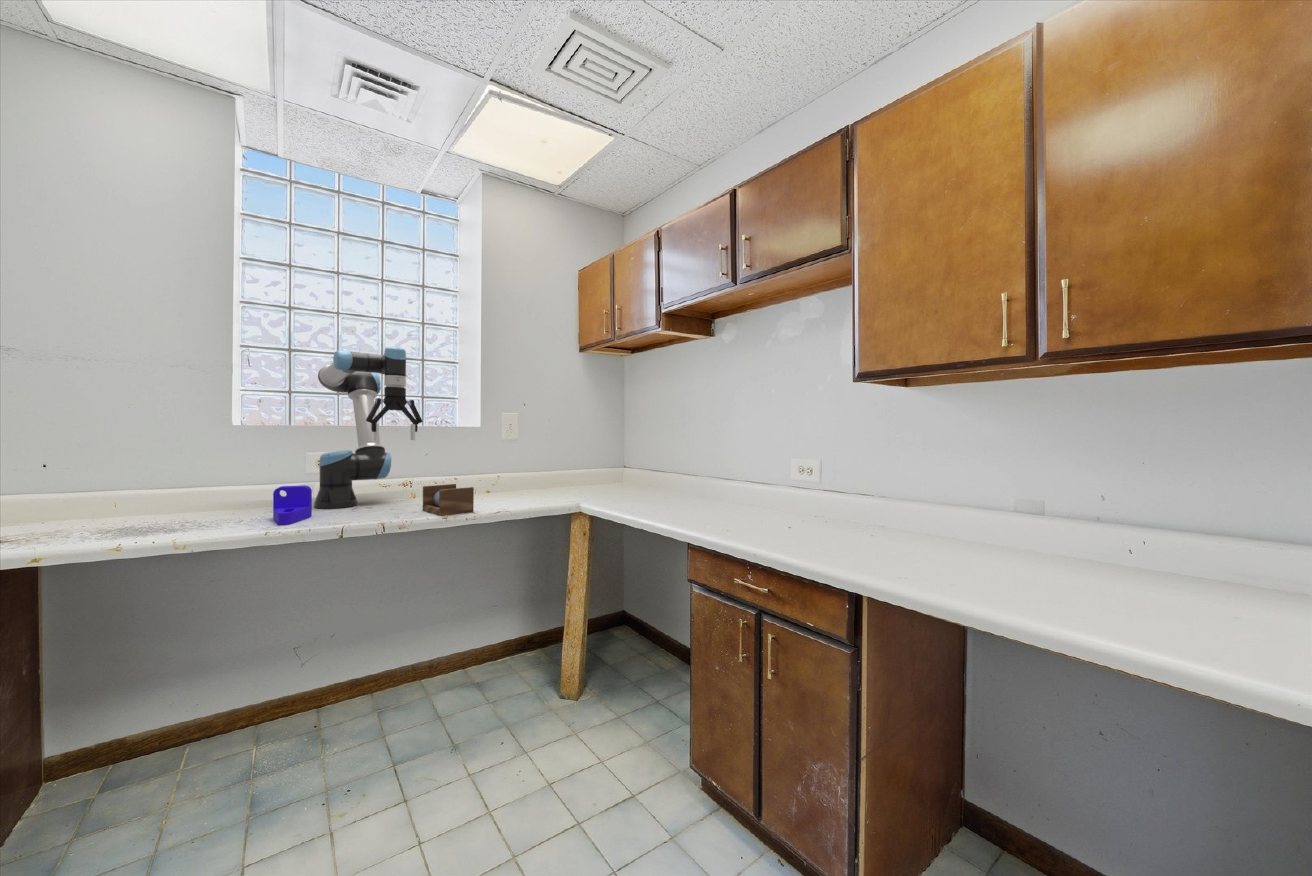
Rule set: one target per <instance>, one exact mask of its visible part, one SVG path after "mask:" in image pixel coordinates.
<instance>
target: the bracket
mask: <svg viewBox="0 0 1312 876" xmlns="http://www.w3.org/2000/svg"><path fill="white" fill-rule="evenodd" d="M281 491H283V492H285V493H286V495H284V496H283V495H281ZM312 491H313V490H312V488H311V487H310V486H309V485H282V486H279V487H276V488H275V489H274V490H273V493H272V502H273V505H272V509H273V510H272V514H273V515H272V518H273V519H272V520H273V521H274V523H276V524H277V525H278V526H284V527H285V526H289V525H294V524H295V523H296V524H297V523H299V522H302V521H305V520H307V519H310V518H311V517H312V513H313V512H312V511H313V509H312V507H313V498H312V497H313V496H312V494H313V492H312Z"/></svg>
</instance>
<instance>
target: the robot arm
mask: <svg viewBox="0 0 1312 876" xmlns="http://www.w3.org/2000/svg"><path fill="white" fill-rule="evenodd" d="M380 374H381V375H384V386H385V387H384V398H383V399H382V398H380V397H378V398H377V396H378V395H379V394H380V393H381V388H382V387H381V378H380V376H379V375H380ZM406 376H407V352H406V350H405V348H403V347H393V346H388V347H385V348H384V353H383V354H379V353H378V354H377V353H369V352H367V353H366V352H360V351H359V352H358V351H357V352H356V351H349V350H336V351H335V352H334V354H333V361H332V363H330V364H326V365H324V366H323V367H321V368H320V369H319V371H318V373H317V380H318V381H319V383H320V384H321V386H323V387H324V388H325V389H328V390H330V391H332V392H335V393H336V392H337V393H346V394H347V397H348V398H349V399H350V400H351V401H352V406H353V413H354V421H355V428H356V430H355V431H356V437H357V439H356V440H357V444H358V447H357V448H356V449H355V451H354V453H353V451H352V450H350V449H349V450H348V449H347V450H338V451H337V450H336V451H331V452H326V453H323V454H320V457H319V461H318V462H319V464H318V467H319V489H318V492H317V495H316V497H315V500H314V508H315V509H322V510H323V509H324V510H325V509H328V510H329V509H343V508H350V507H351V508H352V507H355V506H357V505H358V502H357V501H358V500H357V497H356V493H355V491H354V489H353V481H366V480H367V481H368V480H379V479H386V478H387V477H388V476H389V475H390V471H391V467H392V456H391V453H390V452H388V451H387V452H386V449H385V446H383V445H382V444H381V440H380V432H379V429H380V428H379V427H380V423H378V422H379V421H380V420H381V418H383V416H384V415H385V414H386V413H387V412H388V411H401V412H402V413H403V414H404V415H405V416H406V418H407V419H408V420H409V421H410V422H411V423H412V424H410V441H416V433H418V425H419V424H421V423H423V419H422V417H421V415H420V412H418V409H417V407H416V405H415V400H414V399H408V400H407V399H406V398H407V390H406V386H407V377H406ZM383 403H384V405H385V406H384V407H383V408H382V409H381V410H380V411H379V413H378V414H377V412H378V410H379V408H380V406H381V405H382V404H383ZM406 405H407V406H409V408H410V410H411V412H412V413H411V412H410V411H409V410H408V408H407V407H406Z"/></svg>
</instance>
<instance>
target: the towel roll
mask: <svg viewBox="0 0 1312 876" xmlns="http://www.w3.org/2000/svg"><path fill="white" fill-rule="evenodd" d="M433 502H434V504H435V505H436V506H437V507H439V491H438V492H437V493H436V494H435V495H434V497H433Z"/></svg>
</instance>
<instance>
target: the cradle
mask: <svg viewBox="0 0 1312 876" xmlns="http://www.w3.org/2000/svg"><path fill="white" fill-rule="evenodd" d="M474 488H475V487H473V486H469V487H459V488H458V487H457V483H449V484H437V485H425V486H424V485H422V512H426V513H429V514H433V515H436V516H440V517H443V516H445V517H446V516H451V515H452V516H453V515H461V514H466V513H473V512H474V507H475V506H474V498H475V497H474V493H475V492H474ZM438 491H439V507H437V506H436V505H435V504H434V502H433V497H434V495H435V494H436V493H437V492H438Z"/></svg>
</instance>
